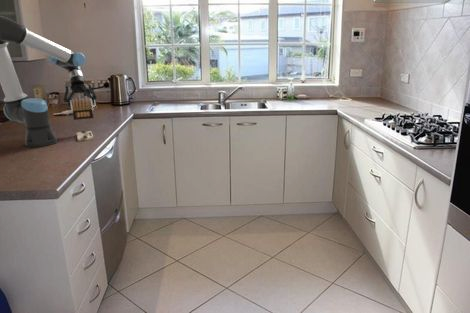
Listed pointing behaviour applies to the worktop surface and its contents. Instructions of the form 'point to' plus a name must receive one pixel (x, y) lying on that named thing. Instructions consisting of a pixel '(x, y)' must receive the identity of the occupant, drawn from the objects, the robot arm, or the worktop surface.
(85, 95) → the glass holder
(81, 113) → the ammunition clip
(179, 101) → the worktop surface
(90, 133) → the plate
